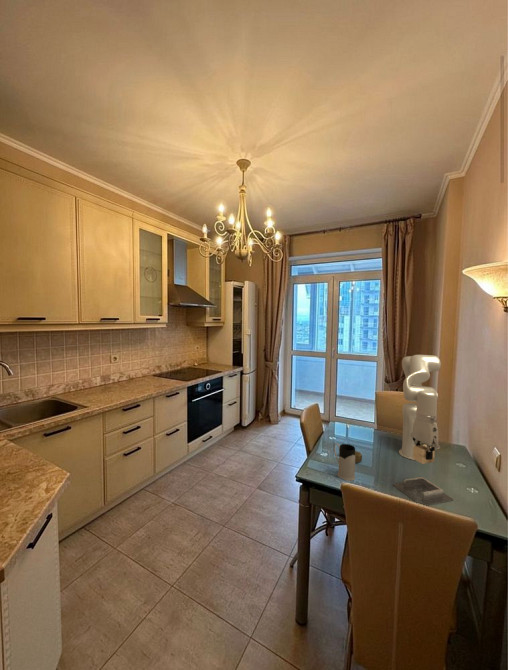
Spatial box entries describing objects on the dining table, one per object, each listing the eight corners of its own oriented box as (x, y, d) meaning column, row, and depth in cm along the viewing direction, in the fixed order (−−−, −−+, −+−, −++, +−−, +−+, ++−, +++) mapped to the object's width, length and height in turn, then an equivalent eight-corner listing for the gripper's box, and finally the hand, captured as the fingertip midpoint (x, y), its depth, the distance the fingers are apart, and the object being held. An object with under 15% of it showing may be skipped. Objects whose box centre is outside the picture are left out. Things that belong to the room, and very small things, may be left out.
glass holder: (345, 482, 131) (347, 452, 131) (326, 467, 144) (328, 440, 144) (359, 478, 135) (360, 449, 134) (339, 465, 148) (340, 438, 147)
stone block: (357, 464, 149) (358, 455, 149) (339, 457, 158) (339, 448, 157) (362, 461, 153) (362, 452, 153) (343, 454, 162) (344, 445, 161)
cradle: (422, 480, 135) (422, 473, 135) (453, 500, 120) (453, 492, 120) (392, 485, 130) (393, 477, 130) (421, 506, 115) (422, 498, 115)
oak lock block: (424, 456, 128) (425, 444, 128) (434, 462, 123) (434, 449, 123) (412, 458, 126) (413, 445, 126) (422, 463, 121) (422, 450, 121)
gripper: (449, 423, 117) (447, 464, 117) (416, 411, 133) (414, 447, 134) (436, 425, 115) (434, 466, 115) (404, 412, 131) (402, 448, 132)
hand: (423, 455), depth 125 cm, fingers closed on oak lock block, 5 cm apart
